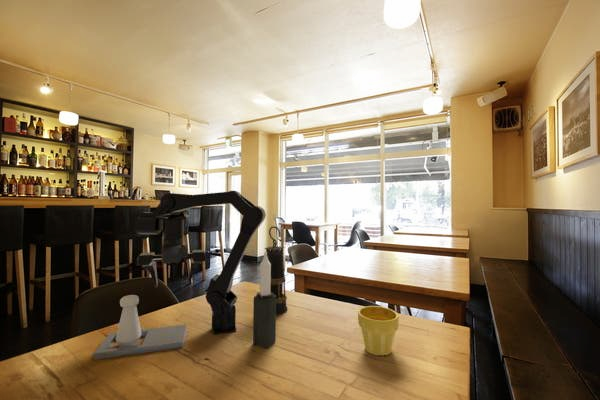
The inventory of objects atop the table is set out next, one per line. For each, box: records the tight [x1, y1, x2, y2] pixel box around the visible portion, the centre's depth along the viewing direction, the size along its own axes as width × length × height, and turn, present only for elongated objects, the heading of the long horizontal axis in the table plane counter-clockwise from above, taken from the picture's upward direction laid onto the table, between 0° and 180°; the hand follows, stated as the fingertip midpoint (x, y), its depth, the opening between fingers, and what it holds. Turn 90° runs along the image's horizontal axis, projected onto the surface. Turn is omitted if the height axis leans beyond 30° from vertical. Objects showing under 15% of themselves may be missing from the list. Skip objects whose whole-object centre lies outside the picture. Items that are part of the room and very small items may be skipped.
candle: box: [252, 251, 277, 349], centre depth 77 cm, size 5×5×25 cm
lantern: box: [264, 226, 288, 316], centre depth 101 cm, size 9×9×30 cm
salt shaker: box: [115, 294, 142, 348], centre depth 75 cm, size 6×6×13 cm
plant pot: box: [357, 305, 400, 357], centre depth 74 cm, size 10×10×10 cm
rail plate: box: [93, 324, 187, 361], centre depth 76 cm, size 20×11×2 cm, turn 108°
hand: (173, 285), depth 86 cm, fingers open, 9 cm apart
